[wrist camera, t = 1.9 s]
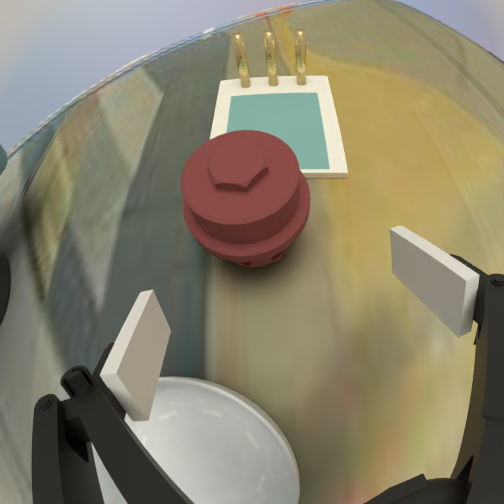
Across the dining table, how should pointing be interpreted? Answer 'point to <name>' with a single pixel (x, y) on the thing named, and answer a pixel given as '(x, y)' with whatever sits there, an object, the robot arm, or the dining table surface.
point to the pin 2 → (271, 57)
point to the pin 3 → (300, 56)
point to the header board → (287, 119)
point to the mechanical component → (245, 197)
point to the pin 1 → (241, 59)
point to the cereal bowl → (213, 446)
